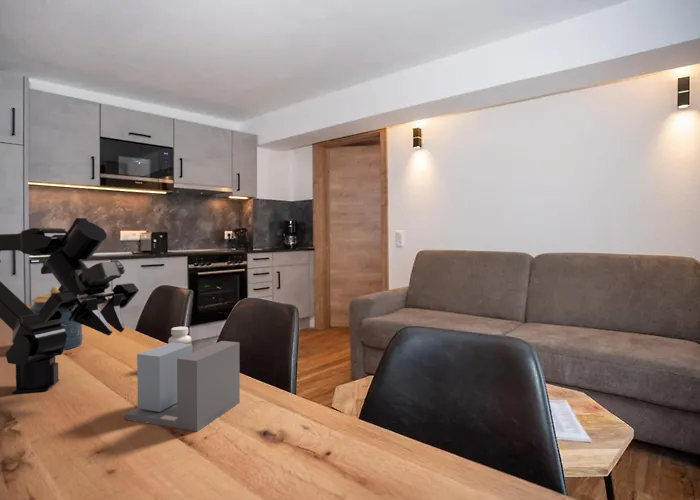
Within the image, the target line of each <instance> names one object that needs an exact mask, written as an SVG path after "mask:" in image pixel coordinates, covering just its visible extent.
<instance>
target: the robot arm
mask: <svg viewBox="0 0 700 500" xmlns="http://www.w3.org/2000/svg"><path fill="white" fill-rule="evenodd" d="M107 237H108V236H107V233H106V231H105V230H104V229H103V228H101V227H100V226H99V225H97V224H95V223H93V222H90V221H89V220H88V219H87V218H84V217H83V218H82V217H76V218H75V220H74V221H73V223H72V225H71V226H70V227H69V229H68V230H66V229H65V228H62V227H61V228H59V227H58V228H57V227H31V228H27V229H24V230H22V231H21V232H19V233H5V234H3V233H2V234H0V252H2V251H5V252H6V251H9V252H10V251H19V252H21V253H22V254H26V255H30V256H34V257H35V256H37V257H38V256H39V257H40V256H49V257H47V259H46V260H43V261H42V266H41V268H40V275H48V274H52V275H53V276H54V278H55V279H56V280H57V282H58V283H59V285H60V286H59V289H58V290H59V291H60V292H58V293H52V294H51V293H50V294H51V296H50V297H49V298H48V300H47V301H46V302H45V303H44V305H43V306H42V307H41V309H40V311H39V314H38V315H36V314H35V313H34V312H32V311H31V310H30V309H29V308H30V307H28V306H27V305H26V304H25V302H23V301H22V300H21V299H20V298H19V297H17V295H15V294H14V293H13V292H12V291H11V290H10V289H9V288H8V287H7V286H6V285H5V284H4V283H3V282H2V281H1V280H0V320H1V321H3V322H4V323H5V324H6V325H7V326H8V327H9V329H11V330H12V340H11V342H12V344H11V346H10V347H9V348H8V349H7V351H6V352H5V358H6V362H7V363H8V364H10V365H11V364H12V365H15V388H14V389H12V390H11V394H17V393H18V394H20V393H31V392H45V391H49V390H50V389H51V388H52V387H54V386H55V385H56V384H57V383H59V381H60V379H59V363H58V362H56V356H61V355H63V352H64V350H63V349H64V346H65V342H66V339H67V333H66V331H65V329H64V327H63V326H62V325H61V324H62V322H60V321H59V320H60V318H61V316H62V314H61V313H60V311H61V310H66V309H69V311H71V312H70V313H71V316H70V317H69V319H68V320H69V321H70V322H72V321H74V322H77V323H80V324H82V326H86V327H88V328H91V329H93V330H95V331H97V332H99V333H101V334H104V335H106V336H111V334H112V333H113V330H112V329H115V330H116V331H118V332H119V333H123V331H125V325H124V321H123V317H122V313H121V309H123V308H125V307H127V306H128V304H129V303H130V302H131V301H132V300H133V299H134V297H135V296H136V295H137V294H138V292H139V288H138V287H137V286H136V285H135V283H131V282H127V283H121V284H119V283H118V284H115V286H114V287H113V288H112V289H111V291H107V292H106V291H105V290H107V289H109V288H110V286H111V284H110V282H112V281H114V280H116V279H119V278H121V277H122V275H123V274H125V272H126V271H125V266H124V265H123V264H122V263H121V262H120V261H119V260H118V259H115V260H110V261H108V262H105V261H104V262H98V263H96V264H94V265H92V266H90V267H89V268H88V266H87V265H86V263H84V261H83V260H89V259H91V258H92V257H93V256H94V255H95V253H96V251H98V249H99V248H100V247H101V245H102V244H103V243H104V242H105V240H106V239H107ZM1 262H2V261H1V260H0V263H1ZM99 309H100V310H99ZM111 327H112V328H111Z"/></svg>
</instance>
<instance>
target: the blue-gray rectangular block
mask: <svg viewBox="0 0 700 500" xmlns="http://www.w3.org/2000/svg"><path fill="white" fill-rule="evenodd" d="M193 350H194V349H193V343H191V344H183V343H173V342H171V343H169V344H168V343H166V344H163V345H159V346H157V347H154V348H152V349H148V350H145V351H143V352H140V353H136V360H137V361H136V367H137V368H136V369H137V370H136V371H137V377H136V378H137V380H136V381H137V385H136V386H137V387H136V388H137V407H138V408H139V409H145V410H151V411H158V412H161V411H163V410H165V409H166V408H168V407H170V406H172V405H174V404H176V403H177V359H178V358H180V357H183V356H185V355H188V354H190V353H193V352H194V351H193Z"/></svg>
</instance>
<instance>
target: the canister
mask: <svg viewBox="0 0 700 500" xmlns="http://www.w3.org/2000/svg"><path fill="white" fill-rule="evenodd" d="M59 288H60V286H53V287H51V289H50V293H43V294H39V295H37V297H34V298H33V299H32V300H31V302H32V303H33V304H32V305H31V306H30V307H28V308H29V309H30V310H31V311H32V312H34V313H35V314H36V315H38V314H39V311H40V309H41V307H42V306H43V305H44V303H45V302H46V301H47V300H48V298H49V297H50V296H51V294H52V293H58V292H60V291H59V290H58V289H59ZM70 312H71V311H69V309H66V310H61V311H60V313H61V314H62V316H61V318H60V320H59V321H60V322H62V324H61V325H62V326H63V327H64V329H65V331H66V333H67V339H66V342H65V346H64V349H63V351H65V350H70V349H73V348H76V347H79V346H80V345H82V344H83V339H84V338H83V337H84V336H83V325H82V324H80V323H77V322H74V321H72V322H70V321H69V320H68V319H69V317H70V316H71V313H70Z"/></svg>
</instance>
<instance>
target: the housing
mask: <svg viewBox="0 0 700 500" xmlns="http://www.w3.org/2000/svg"><path fill="white" fill-rule="evenodd" d="M240 350H241V349H240V342H239V341H228V340H220V341H218V342H215V343H213V344H210V345H208V346H206V347H203V348H200V349H198V350H195V351H193V353H190V354H188V355H185V356H183V357H180V358H178V359H177V403H176V404H174V405H172V406H170V407H168V408H166V409H165V410H163V411H161V412H158V411H151V410H145V409H139V408H138V406H137V407H135V408H133V409H131V410H128V411H127V412H124V420H127V419H128V421H133V420H136V421H135V422H139V421H141V422H140V423H145V422H148V423H147V424H150V423H152V425H157V426H161V427H169V428H175V429H180V430H186V431H193V432H199V431H200V430H202V429H203V428H205V427H206V426H207V425H209V424H210V423H212V422H214V421H215V420H216V419H218V418H219V417H221V416H222V415H224V414H225V413H227V412H229V410H231V409H233V408H234V407H235V406H237V405H238V404H240V402H241V401H240V400H241V399H240V396H241V395H240V393H241V391H240V388H241V387H240V386H241V384H240V383H241V381H240V367H241V365H240Z"/></svg>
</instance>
